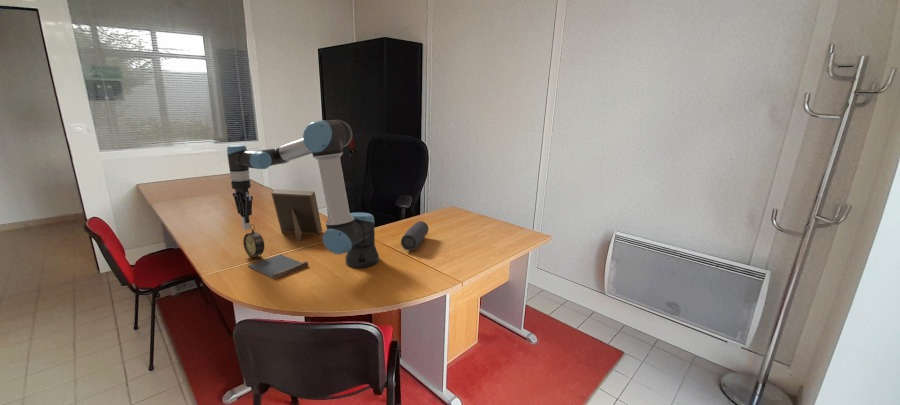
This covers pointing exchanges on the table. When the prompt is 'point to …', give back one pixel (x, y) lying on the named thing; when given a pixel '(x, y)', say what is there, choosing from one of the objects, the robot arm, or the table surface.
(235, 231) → the table surface
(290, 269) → the stop strip
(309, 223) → the photo frame
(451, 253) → the table surface
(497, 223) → the table surface
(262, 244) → the alarm clock
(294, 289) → the table surface
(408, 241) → the bluetooth speaker
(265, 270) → the mat
